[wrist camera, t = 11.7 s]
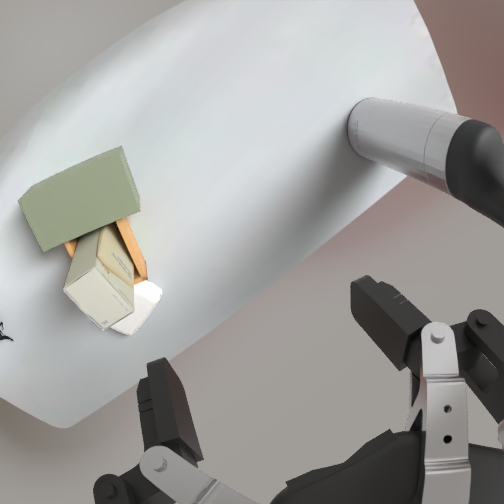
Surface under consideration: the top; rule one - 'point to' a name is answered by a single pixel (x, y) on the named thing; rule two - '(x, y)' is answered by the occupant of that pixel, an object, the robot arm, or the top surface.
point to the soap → (140, 307)
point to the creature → (3, 336)
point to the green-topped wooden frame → (85, 205)
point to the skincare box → (102, 277)
